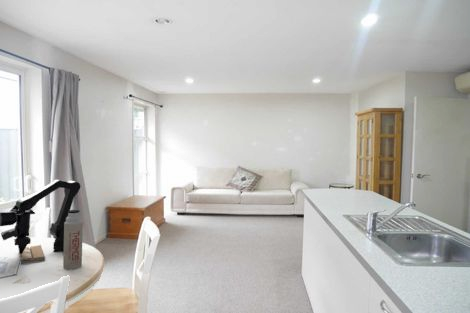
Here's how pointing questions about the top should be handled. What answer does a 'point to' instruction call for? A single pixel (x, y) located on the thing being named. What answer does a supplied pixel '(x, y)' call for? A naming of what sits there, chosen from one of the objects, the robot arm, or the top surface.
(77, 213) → the thermos bottle
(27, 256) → the plank
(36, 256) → the floor panel
